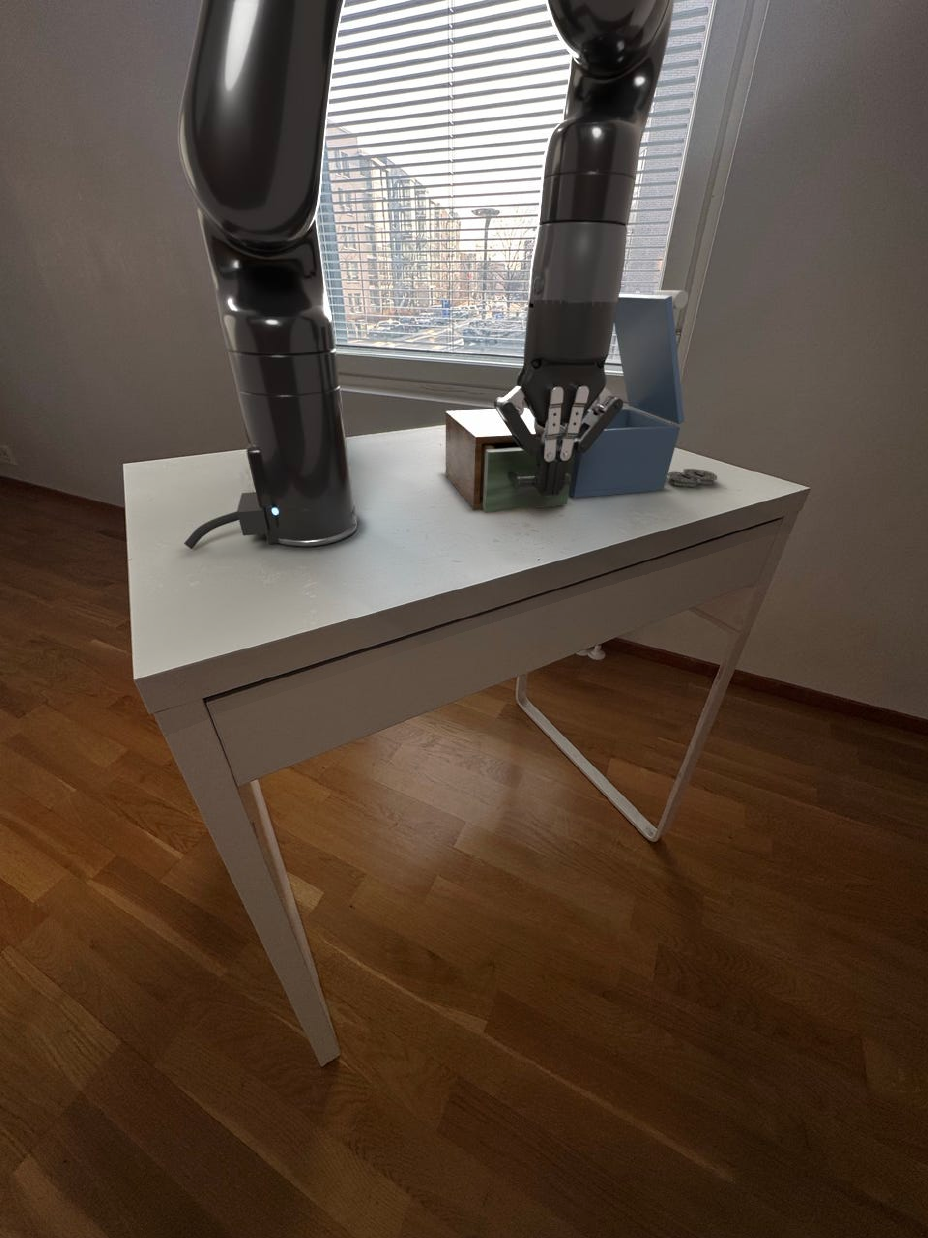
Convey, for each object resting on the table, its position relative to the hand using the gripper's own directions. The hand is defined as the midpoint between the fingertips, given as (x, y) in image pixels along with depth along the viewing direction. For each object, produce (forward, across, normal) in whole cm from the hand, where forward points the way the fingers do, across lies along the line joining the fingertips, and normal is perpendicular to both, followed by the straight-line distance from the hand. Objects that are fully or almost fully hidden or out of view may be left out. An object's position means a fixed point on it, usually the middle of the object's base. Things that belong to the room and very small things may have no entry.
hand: (547, 493), depth 50 cm
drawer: (+4, 0, -9) cm, 10 cm away
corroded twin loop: (+4, -28, -11) cm, 30 cm away
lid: (-11, -18, -15) cm, 26 cm away
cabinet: (+4, 0, -15) cm, 15 cm away
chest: (+4, -15, -15) cm, 22 cm away
